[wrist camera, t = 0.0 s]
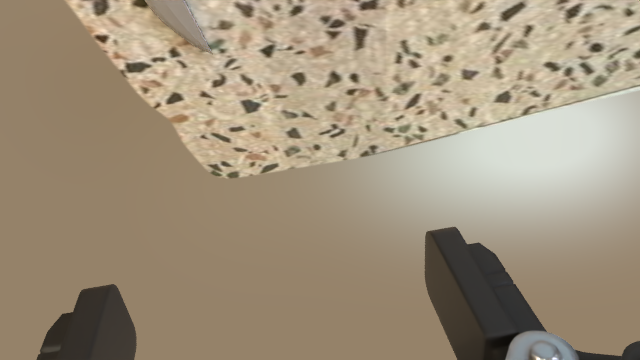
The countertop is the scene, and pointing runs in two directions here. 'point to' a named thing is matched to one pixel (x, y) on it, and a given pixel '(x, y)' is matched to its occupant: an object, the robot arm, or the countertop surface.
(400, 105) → the countertop surface
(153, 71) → the countertop surface
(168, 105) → the countertop surface
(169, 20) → the chef's knife
